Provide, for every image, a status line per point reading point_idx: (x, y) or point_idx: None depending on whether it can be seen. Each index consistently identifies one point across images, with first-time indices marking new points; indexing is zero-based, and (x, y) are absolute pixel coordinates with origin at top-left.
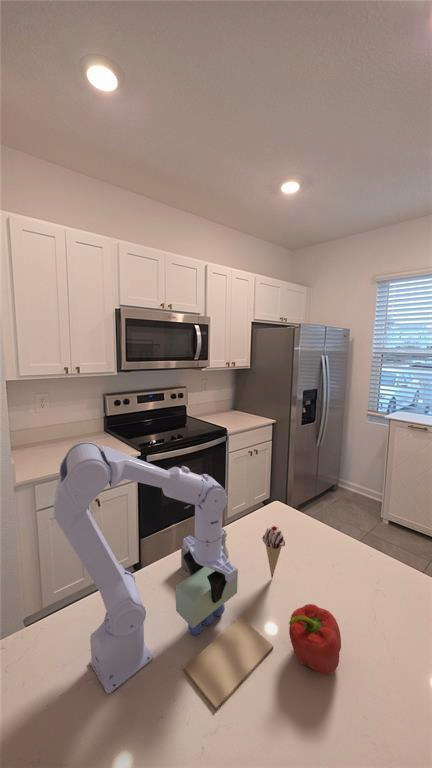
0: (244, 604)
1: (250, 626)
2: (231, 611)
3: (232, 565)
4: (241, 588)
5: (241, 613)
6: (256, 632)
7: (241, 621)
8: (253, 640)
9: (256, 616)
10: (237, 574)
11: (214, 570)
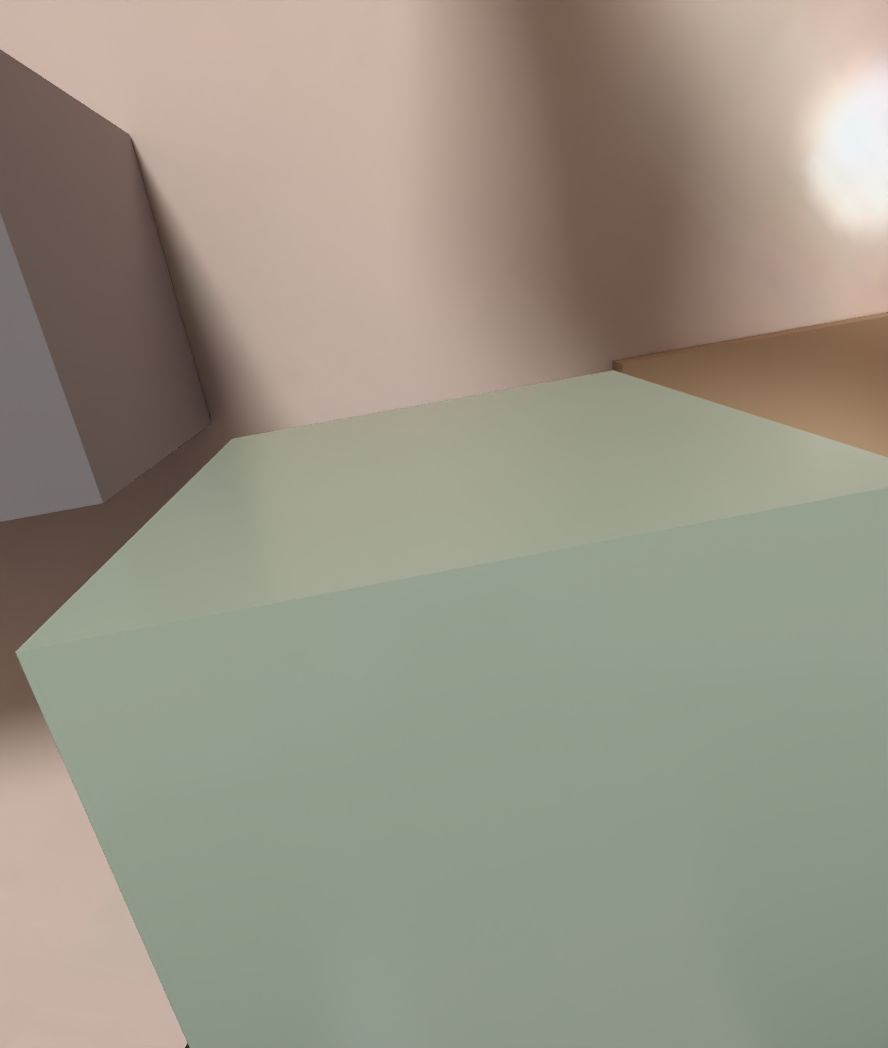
0: (500, 194)
1: (757, 344)
2: (488, 379)
3: (684, 524)
4: (285, 47)
5: (567, 304)
6: (837, 337)
7: (662, 384)
8: (865, 415)
9: (690, 185)
10: (814, 440)
11: (504, 1034)
